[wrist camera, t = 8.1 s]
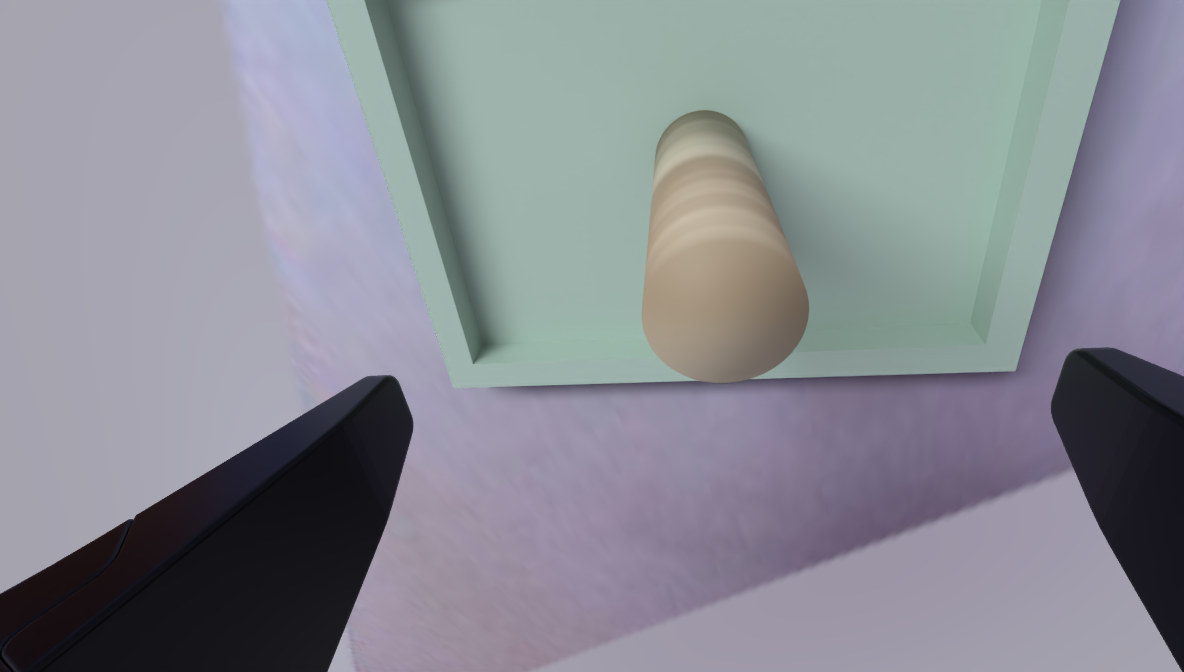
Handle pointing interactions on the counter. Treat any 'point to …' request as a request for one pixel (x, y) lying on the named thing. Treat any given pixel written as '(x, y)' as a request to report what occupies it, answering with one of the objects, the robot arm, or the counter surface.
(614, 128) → the tray
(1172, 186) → the counter surface
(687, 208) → the dowel pin
